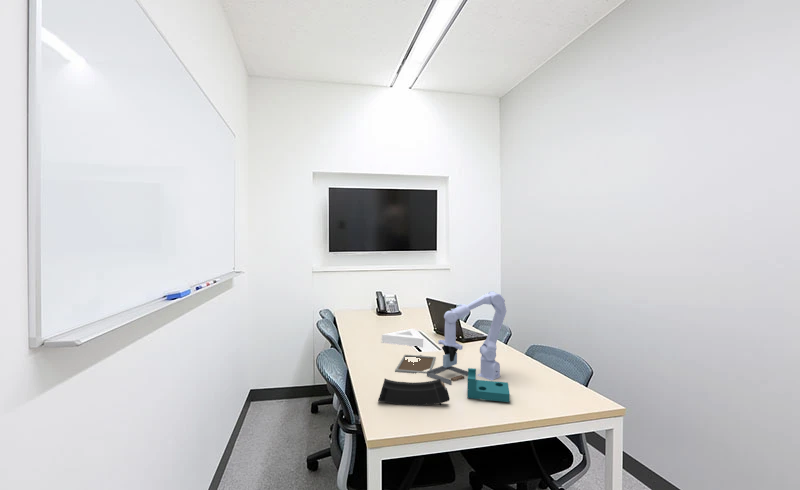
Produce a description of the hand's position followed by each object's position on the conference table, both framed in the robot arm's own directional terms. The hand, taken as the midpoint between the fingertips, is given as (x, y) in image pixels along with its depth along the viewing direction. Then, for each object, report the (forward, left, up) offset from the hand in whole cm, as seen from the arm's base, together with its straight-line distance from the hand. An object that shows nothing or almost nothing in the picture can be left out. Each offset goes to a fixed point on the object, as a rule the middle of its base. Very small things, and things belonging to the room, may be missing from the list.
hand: (449, 360), depth 186 cm
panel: (0, 0, -3) cm, 3 cm away
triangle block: (+58, -28, -9) cm, 65 cm away
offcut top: (-6, +1, -8) cm, 10 cm away
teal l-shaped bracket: (-27, +6, -9) cm, 29 cm away
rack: (0, +1, -8) cm, 8 cm away
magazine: (-10, +36, -9) cm, 39 cm away
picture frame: (+25, -1, -9) cm, 27 cm away
